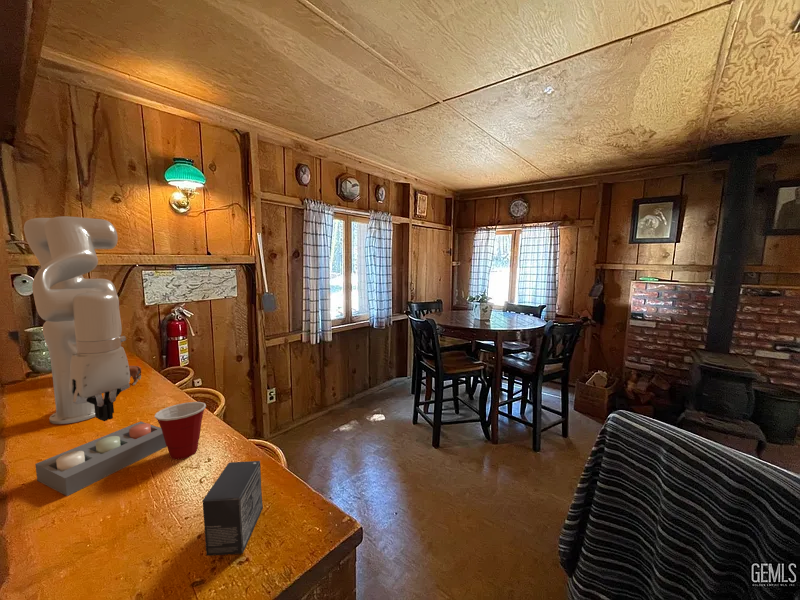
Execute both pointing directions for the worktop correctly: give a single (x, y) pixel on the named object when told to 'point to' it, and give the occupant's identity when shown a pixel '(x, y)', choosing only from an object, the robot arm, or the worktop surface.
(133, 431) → the brick button
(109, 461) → the panel
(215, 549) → the small box
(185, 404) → the plastic cup
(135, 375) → the bull figurine
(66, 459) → the ivory button
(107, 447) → the sage button
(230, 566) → the worktop surface
